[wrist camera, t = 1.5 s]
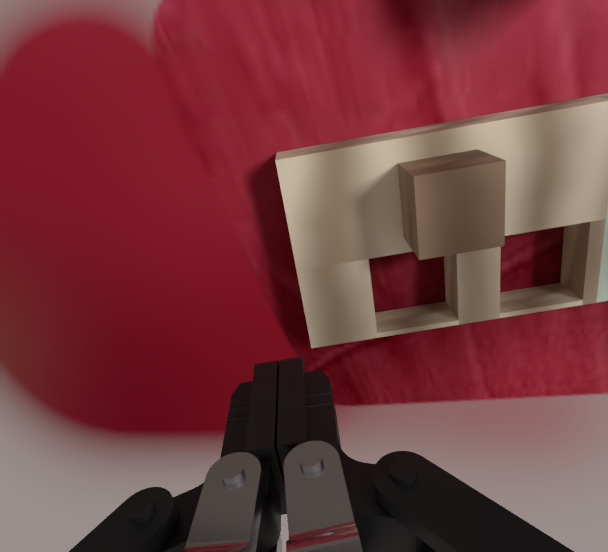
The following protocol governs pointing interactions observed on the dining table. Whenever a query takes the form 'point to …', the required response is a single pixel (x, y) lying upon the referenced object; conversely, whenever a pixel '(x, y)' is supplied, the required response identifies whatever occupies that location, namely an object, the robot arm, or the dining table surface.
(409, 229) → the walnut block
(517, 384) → the dining table surface
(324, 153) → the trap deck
